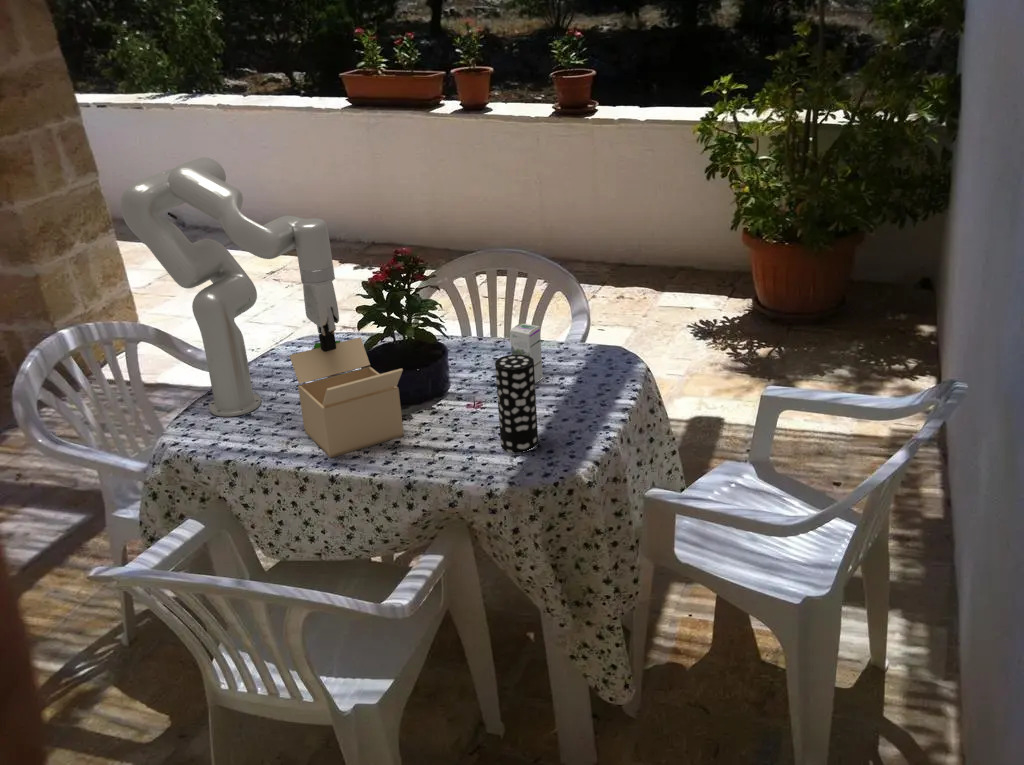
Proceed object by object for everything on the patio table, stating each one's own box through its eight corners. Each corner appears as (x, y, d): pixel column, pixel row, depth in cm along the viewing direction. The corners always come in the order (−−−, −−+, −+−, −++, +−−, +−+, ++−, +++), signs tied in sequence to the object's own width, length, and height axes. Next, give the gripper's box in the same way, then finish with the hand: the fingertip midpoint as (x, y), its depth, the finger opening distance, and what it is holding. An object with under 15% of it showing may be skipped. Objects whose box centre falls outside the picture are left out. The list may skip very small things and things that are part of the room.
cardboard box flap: (395, 384, 236) (396, 386, 235) (322, 404, 228) (323, 406, 228) (401, 368, 230) (402, 370, 230) (326, 388, 222) (327, 390, 222)
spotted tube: (525, 456, 227) (520, 371, 219) (493, 448, 232) (487, 365, 224) (545, 440, 234) (540, 357, 226) (513, 433, 238) (508, 352, 230)
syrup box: (543, 378, 266) (541, 325, 260) (531, 387, 261) (528, 333, 255) (524, 374, 269) (521, 321, 263) (512, 383, 264) (508, 329, 258)
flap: (299, 383, 239) (298, 384, 240) (370, 364, 247) (369, 365, 248) (289, 355, 240) (289, 355, 241) (360, 337, 248) (360, 337, 248)
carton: (305, 432, 245) (297, 385, 240) (375, 412, 253) (369, 366, 248) (330, 458, 232) (323, 409, 227) (403, 435, 240) (398, 388, 235)
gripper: (290, 270, 241) (302, 344, 248) (313, 285, 229) (325, 363, 236) (321, 263, 244) (332, 337, 251) (345, 278, 232) (356, 354, 239)
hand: (328, 349), depth 243 cm, fingers closed
